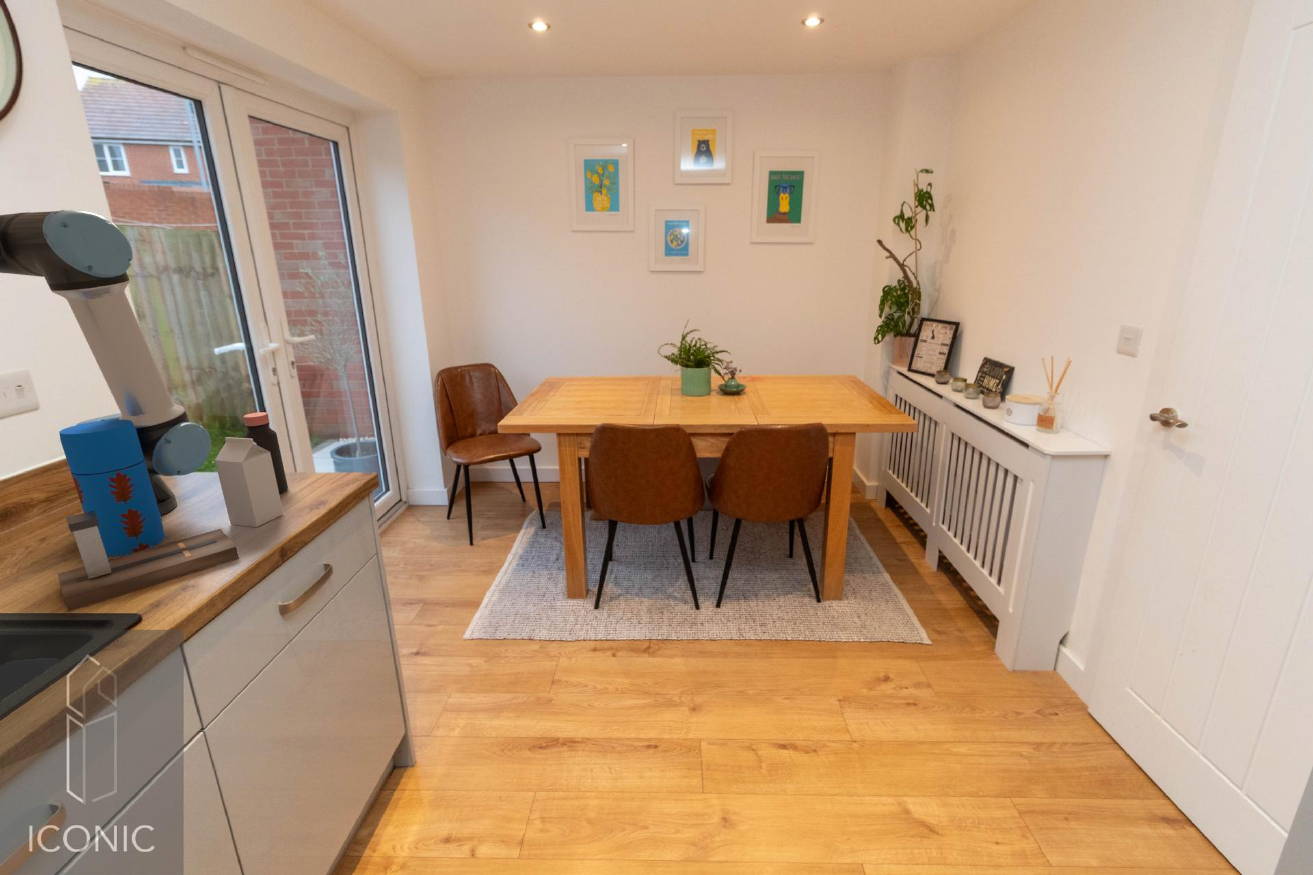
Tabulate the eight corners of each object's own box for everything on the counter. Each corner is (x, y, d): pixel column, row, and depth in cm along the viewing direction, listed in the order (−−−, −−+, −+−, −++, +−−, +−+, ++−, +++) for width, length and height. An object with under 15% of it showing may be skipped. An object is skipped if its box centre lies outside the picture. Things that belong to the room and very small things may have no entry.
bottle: (277, 497, 143) (260, 418, 137) (249, 497, 143) (231, 418, 138) (294, 487, 150) (278, 411, 144) (267, 487, 150) (250, 411, 144)
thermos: (108, 561, 113) (68, 437, 106) (88, 548, 119) (49, 429, 112) (175, 539, 122) (142, 423, 115) (154, 528, 128) (121, 416, 120)
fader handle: (83, 571, 104) (65, 517, 101) (110, 563, 106) (94, 510, 103) (86, 580, 101) (67, 524, 98) (114, 572, 103) (97, 517, 100)
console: (62, 586, 105) (57, 573, 104) (223, 539, 122) (220, 528, 121) (67, 611, 97) (63, 597, 96) (238, 558, 114) (235, 546, 113)
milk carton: (257, 527, 127) (237, 443, 121) (230, 525, 128) (209, 442, 123) (284, 514, 134) (266, 434, 128) (258, 511, 135) (239, 432, 130)
